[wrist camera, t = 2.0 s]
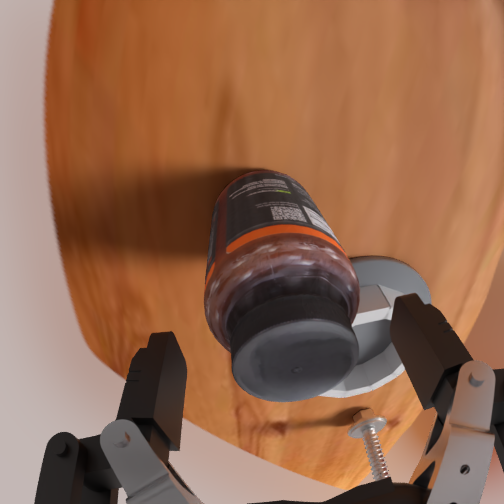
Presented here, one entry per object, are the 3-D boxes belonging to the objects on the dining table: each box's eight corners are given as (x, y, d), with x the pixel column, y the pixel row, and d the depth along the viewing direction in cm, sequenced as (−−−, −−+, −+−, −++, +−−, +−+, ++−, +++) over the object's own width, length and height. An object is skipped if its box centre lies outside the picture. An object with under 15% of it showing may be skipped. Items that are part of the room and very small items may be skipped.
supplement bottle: (240, 271, 21) (247, 431, 11) (194, 194, 18) (153, 342, 8) (325, 235, 20) (396, 381, 10) (290, 149, 17) (370, 257, 7)
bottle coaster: (255, 273, 21) (259, 305, 18) (440, 243, 20) (464, 266, 17) (275, 391, 28) (278, 420, 25) (409, 362, 27) (421, 386, 25)
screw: (376, 398, 30) (385, 411, 33) (338, 415, 32) (351, 427, 34) (408, 497, 19) (414, 499, 21) (362, 514, 20) (373, 515, 23)
